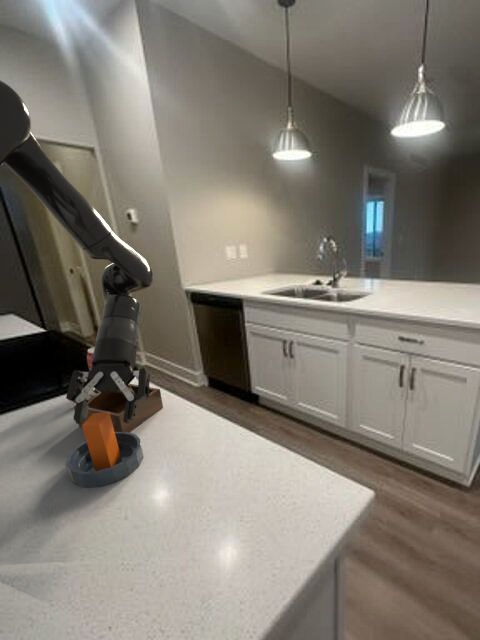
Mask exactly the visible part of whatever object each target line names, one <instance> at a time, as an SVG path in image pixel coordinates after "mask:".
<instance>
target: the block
mask: <svg viewBox="0 0 480 640" xmlns="http://www.w3.org/2000/svg"><path fill="white" fill-rule="evenodd" d="M81 428H82V432H83V435H84V438H85V441H86V442H87V445H88V448H89V452H90V455H91V458H92V462H93V465H94V468H95V471H99V470H103V469H107V468H110V467H113V466H115V465H116V463H117V462H118V460H119V459H120V457H121V455H120V451H119V447H118V444H117V440H116V436H115V432H114V428H113V424H112V420H111V416H110V413H93V414H92V415H91V416H90V417H89V418H88V419H87V420H86V422H85V423H84V424H83V425H82V427H81Z"/></svg>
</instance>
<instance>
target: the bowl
mask: <svg viewBox="0 0 480 640" xmlns="http://www.w3.org/2000/svg"><path fill="white" fill-rule="evenodd" d="M115 436H116V440H117V444H118V447H119V451H120V455H121V457H120V459H119V460H118V462H117V463H116V465H115V466H113V467H110V468H107V469H103V470H99V471H95V468H94V465H93V462H92V458H91V455H90V452H89V448H88V445H87V442H86V440H85V441H83V442H82V443H80V444H79V445H77V446H76V447H74V448H73V449H72V451H71V452H70V453H69V454H68V455H67V458H66V463H65V466H66V470H67V472H68V475H69V478H70V480H71V481H72V482H73V484H74V485H76V486H79V487H83V488H100V487H104V486H107V485H110V484H115V483H117V482H119V481H121V480H123V479H125V478H127V477H128V476H130V475H131V474H132V473H133V472H135V470H137V469H139V467H141V464H142V462H143V460H144V450H143V446H142V441H141V438H140V437H139V436H138V435H137V434H136V433H133V432H130V433H129V432H115Z"/></svg>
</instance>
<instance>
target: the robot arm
mask: <svg viewBox="0 0 480 640" xmlns="http://www.w3.org/2000/svg"><path fill="white" fill-rule="evenodd" d="M3 164H5V165H6V166H7V167H8V168H9V169H10V170H11V171H12V172H13V173H14V174H15V175H16V176H17V177H18V178H19V179H20V180H21V181H22V182H23V183H24V184H25V185H26V187H28V188H29V189H30V190H31V192H32V193H33V194H34V195H35V196H36V197H37V199H38V200H39V201H40V202H41V203H42V204H43V206H44V207H45V208H46V209H47V210H48V211H49V213H50V214H51V215H52V216H53V218H54V219H55V220H56V221H57V223H58V224H59V225H60V226H61V227H62V228H63V229H64V230H65V232H66V233H67V234H68V235H69V237H71V239H72V240H73V241H74V242H75V243H76V244H77V245H78V247H80V248H81V250H82V251H83V252H84V253H85V254H86V255H87V256H88V257H89V258H90V259H92V260H106V261H109V262H110V264H109V265H107V266H106V267H105V268H104V270H103V271H102V274H101V276H100V283H101V290H102V299H103V308H102V314H101V320H100V323H99V326H98V329H97V334H96V338H95V342H94V343H95V344H94V347H95V348H94V354H93V359H92V368H91V370H88V371H80V370H79V369H75V370H73V371H72V374H71V377H70V378H71V379H70V381H69V385H68V388H67V393H66V396H65V399H66V400H68V401H71V402H72V403H75V405H76V408H75V411H74V413H73V421H75V424H76V425H78V426H79V425H83V424H84V423H85V422H86V419H87V414H88V408H89V406H88V404H89V403H90V402H91V401H92V400H93V399H94V398H96V397H98V396H99V395H100V393H103V394H106V393H111V392H113V393H120V392H121V391H122V392H123V394H124V395H125V396H126V398H127V399H128V402H126V404H125V411H124V418H123V421H124V422H125V423H132V420H134V419H135V417H136V409H137V404H138V403H139V402H141V401H143V400H144V401H146V400H148V398H149V387H150V381H151V380H150V379H151V374H150V372H149V371H148V370H147V369H145V368H144V367H142V368H140V369H138V370H135V366H136V359H137V352H138V346H139V338H140V337H139V336H140V335H139V334H140V331H139V328H140V321H141V313H142V306H141V303H140V301H139V300H138V299H137V298H135V297H133V296H131V295H130V294H132V293H135V292H138V291H142V290H145V289H147V288H149V287H151V286H152V284H153V282H154V272H153V268H152V267H151V265H150V263H149V262H148V261H147V260H146V259H145V257H143V255H141V254H140V253H139V252H137V250H136V249H134V248H133V247H131V246H130V245H129V244H128V243H127V242H125V240H123V239H121V238H120V237H119V236H117V234H116V233H115V232H114V230H113V229H112V228H111V226H110V225H109V224H108V222H107V221H106V220H105V218H103V217H102V215H101V214H100V213H99V212H98V210H97V209H96V208H95V207H94V206H93V205H92V204H91V202H90V201H88V199H87V198H86V197H85V196H84V195H83V194H82V193H81V192H80V191H79V190H78V189H77V188H76V186H74V185H73V184H72V183H71V182H70V181H69V180H68V178H67V177H65V176H64V174H63V173H62V172H61V171H60V169H59V168H58V167H57V166H56V165H55V164H54V162H53V161H52V160H51V158H50V157H49V156H48V154H47V153H46V151H45V150H44V149H43V147H42V146H41V144H40V143H39V141H38V139H37V138H36V136H35V135H34V133H33V132H32V120H31V115H30V112H29V109H28V107H27V105H26V104H25V102H24V100H23V99H22V98H21V96H20V95H19V94H18V92H17V91H16V90H14V88H13V87H11V85H9V84H7V82H4V81H3V80H0V167H2V165H3ZM134 379H136V380H137V385H138V394H135V393H134V391H133V390H132V388H131V387H130V385H129V384H131V383H132V382H133V380H134ZM88 380H89V382H88ZM87 382H88V383H87ZM85 384H86V385H85ZM84 385H85V386H84Z"/></svg>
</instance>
